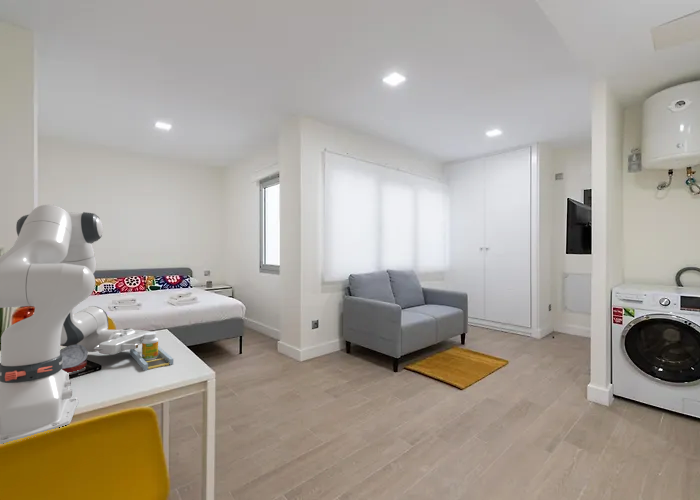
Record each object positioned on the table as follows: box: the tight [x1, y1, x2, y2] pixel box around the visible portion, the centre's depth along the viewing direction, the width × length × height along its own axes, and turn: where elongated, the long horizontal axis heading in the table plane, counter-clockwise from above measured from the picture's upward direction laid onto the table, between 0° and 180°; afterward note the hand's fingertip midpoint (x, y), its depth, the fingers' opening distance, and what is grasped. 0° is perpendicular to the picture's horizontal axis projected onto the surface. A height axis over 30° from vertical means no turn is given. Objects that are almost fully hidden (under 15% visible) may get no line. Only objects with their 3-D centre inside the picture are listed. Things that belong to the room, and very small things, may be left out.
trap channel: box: [129, 345, 174, 371], centre depth 127 cm, size 24×9×2 cm, turn 44°
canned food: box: [60, 344, 89, 372], centre depth 113 cm, size 11×10×10 cm
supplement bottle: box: [141, 331, 159, 361], centre depth 127 cm, size 5×5×10 cm
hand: (145, 342), depth 127 cm, fingers open, 8 cm apart
